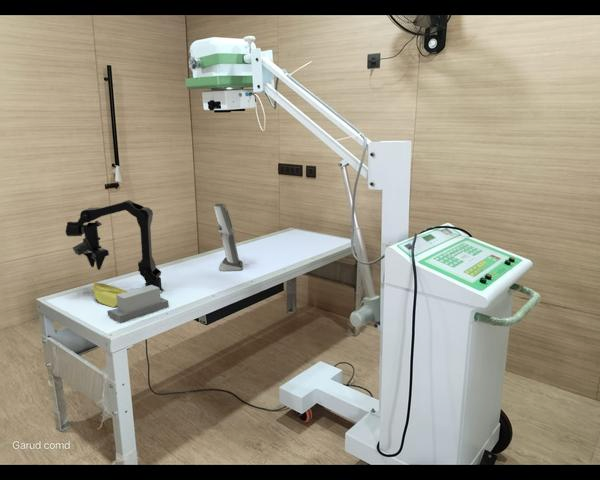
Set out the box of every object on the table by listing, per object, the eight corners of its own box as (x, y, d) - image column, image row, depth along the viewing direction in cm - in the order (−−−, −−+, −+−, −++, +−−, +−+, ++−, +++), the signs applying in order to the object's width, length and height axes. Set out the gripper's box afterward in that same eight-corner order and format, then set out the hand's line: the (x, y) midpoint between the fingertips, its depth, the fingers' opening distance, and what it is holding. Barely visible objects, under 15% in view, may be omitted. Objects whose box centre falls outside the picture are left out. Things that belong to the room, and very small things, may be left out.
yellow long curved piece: (137, 294, 215) (120, 291, 207) (132, 310, 214) (115, 308, 206) (109, 284, 225) (91, 281, 216) (104, 300, 224) (86, 297, 216)
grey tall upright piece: (219, 265, 264) (215, 202, 256) (243, 264, 265) (239, 202, 257) (218, 271, 253) (213, 206, 245) (242, 270, 254) (238, 205, 246)
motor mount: (154, 300, 213) (151, 280, 211) (168, 307, 205) (166, 286, 203) (106, 315, 198) (103, 294, 196) (120, 323, 190) (117, 301, 188)
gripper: (65, 236, 220) (69, 268, 223) (82, 242, 207) (87, 276, 211) (89, 231, 228) (93, 263, 231) (107, 237, 215) (111, 270, 219)
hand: (95, 268), depth 223 cm, fingers open, 6 cm apart
